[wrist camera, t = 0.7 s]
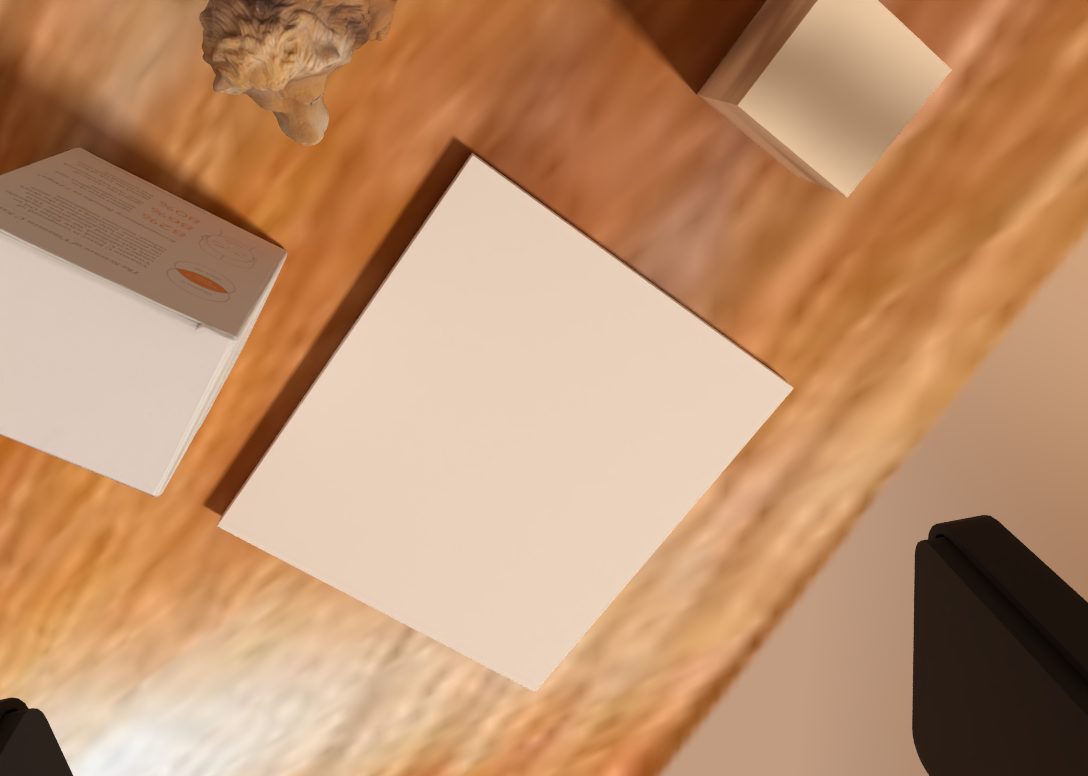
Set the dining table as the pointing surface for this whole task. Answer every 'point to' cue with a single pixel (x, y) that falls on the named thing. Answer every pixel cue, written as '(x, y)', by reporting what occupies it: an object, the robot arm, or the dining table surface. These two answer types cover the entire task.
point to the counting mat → (503, 433)
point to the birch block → (824, 85)
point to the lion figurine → (288, 52)
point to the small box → (118, 315)
